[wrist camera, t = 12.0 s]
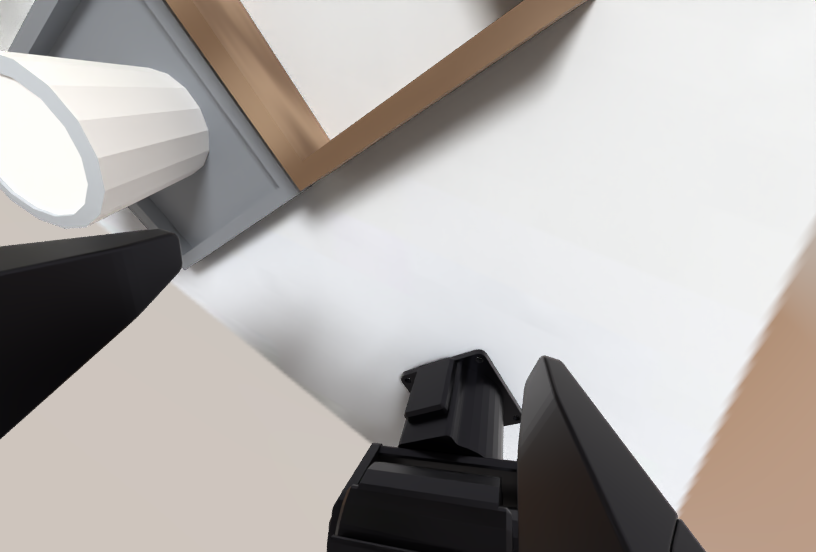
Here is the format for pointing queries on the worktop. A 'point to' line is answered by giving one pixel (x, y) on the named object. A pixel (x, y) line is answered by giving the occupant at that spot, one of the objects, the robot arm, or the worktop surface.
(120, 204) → the white tapered cup
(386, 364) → the worktop surface
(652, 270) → the worktop surface
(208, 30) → the walnut bin
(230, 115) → the charcoal tray
